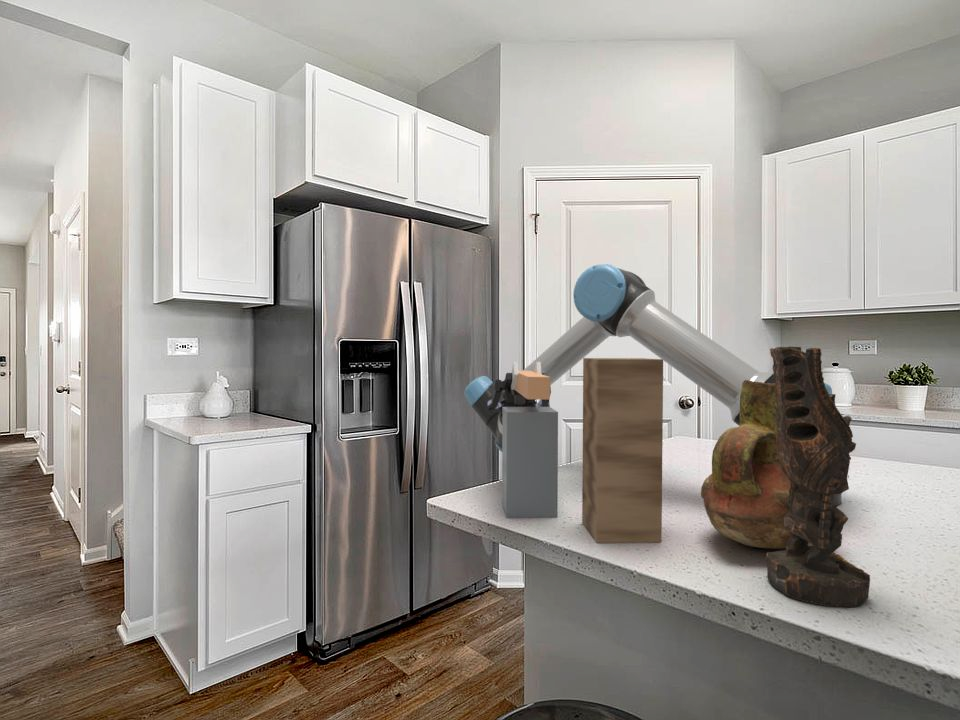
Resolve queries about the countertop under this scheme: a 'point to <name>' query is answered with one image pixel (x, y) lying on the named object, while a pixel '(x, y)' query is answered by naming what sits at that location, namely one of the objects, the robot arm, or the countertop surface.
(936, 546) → the countertop surface
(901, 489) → the countertop surface
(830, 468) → the statue
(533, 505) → the slate pedestal
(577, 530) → the countertop surface
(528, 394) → the bar
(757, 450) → the ceramic vessel
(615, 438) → the walnut stand
